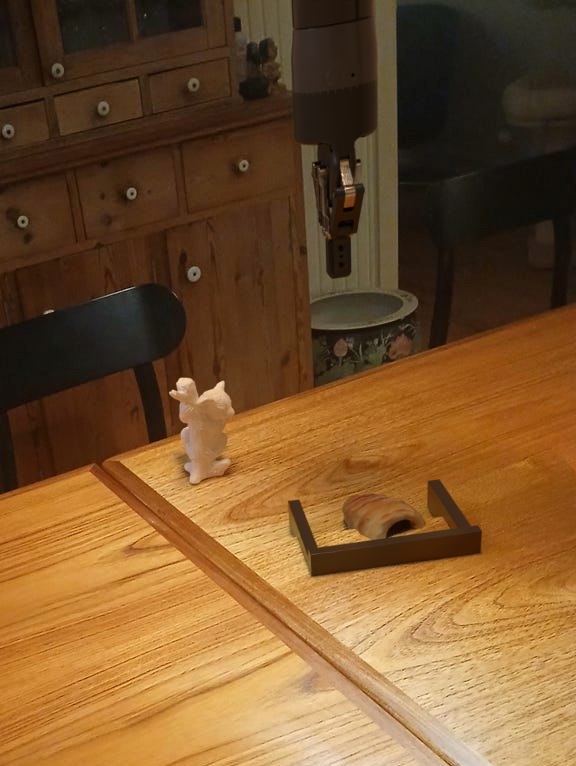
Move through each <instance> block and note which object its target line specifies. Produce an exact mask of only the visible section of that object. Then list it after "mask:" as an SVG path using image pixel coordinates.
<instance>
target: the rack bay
mask: <svg viewBox="0 0 576 766" xmlns="http://www.w3.org/2000/svg"><path fill="white" fill-rule="evenodd" d="M426 507H427V509H428V511H429V512H430V513H431V515H432V517H433V518H434V519H436V518H441V517H442V518H443V519H444V521H445V523H446V524H447V526H448V527H449V528H447V529H440V530H433V531H425V532H418V533H412V534H405V535H397V536H390V537H388V538H382V539H375V540H371V539H367V540H361V541H355V542H348V543H339V544H334V545H333V544H332V545H326V546H318V544H317V541H316V539H315V536H314V534H313V531H312V529H311V526H310V523H309V520H308V519H307V518H308V517H307V516H306V513H305V511H304V507H303V506H302V503H301V500H300V499H292V500H288V501H287V510H288V527H289V529H290V532H291V534H292V537H293V538H297V540H298V544H299V546H300V548H301V549H300V550H301V551H302V555H303V557H304V560H305V562H306V566H307V568H308V571H309V574H310V577H319V576H327V575H333V574H334V575H335V574H341V573H347V572H348V573H349V572H355V571H356V572H357V571H363V570H368V569H377V568H384V567H391V566H398V565H407V564H414V563H420V562H421V563H422V562H428V561H435V560H443V559H448V558H450V559H451V558H456V557H463V556H464V557H465V556H471V555H478V554H481V552H482V551H481V549H482V538H483V537H482V536H483V530H482V529H481V528H480V526H479V525H478V524H475V525H472V524H471V523H470V522H469V521H468V519H467V517H466V516H465V514H464V513H463V512H462V510H461V508H460V507H459V506H458V504H457V502H456V501H455V500H454V499H453V497H452V496H451V494H450V492H449V491H448V490H447V488H446V487H445V485H444V483H443V482H442V481H441V479H440V478H435V479H429V480H427V495H426Z"/></svg>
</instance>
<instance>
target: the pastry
mask: <svg viewBox="0 0 576 766" xmlns="http://www.w3.org/2000/svg"><path fill="white" fill-rule="evenodd" d="M341 512H342V514H343V521H345V523H346V526H347V528H348V531H349V530H350V531H351V530H356V531H357V532H358V533H359V534H360V535H361V536H363V537H364V538H367V539H368V540H375V539H382V538H389V537H393V536H394V535H397V534H399V533H401V532H403V531H404V530H405V529H407V528H408V527H409V528H411V529H422V528H424V527H425V526H426V525H427V524H426V523H427V522H426V520H424V517H423V515H422V514H421V513H419V511H418V510H417V509H416V508H414V507H413V506H412V505H410V504H409V503H407V502H406V500H404V499H403V498H400V497H399V498H398V497H396V498H395V497H394V498H393V497H390V496H387V495H386V494H382V493H379V494H378V493H366V494H363V493H362V494H355V495H352V496H350V497H348V498H347V499H346V500H345V502H344V503H343V505H342V508H341Z"/></svg>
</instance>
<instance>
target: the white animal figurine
mask: <svg viewBox="0 0 576 766" xmlns="http://www.w3.org/2000/svg"><path fill="white" fill-rule="evenodd" d="M225 385H226V383H225V380H222V381H219V382H217V384H216V385H215V386H214V387H213V388H212V389H209V390H208V389H207V390H206V391H204V392H203V393H202V394H201V395H199V393H198V389H197V386H196V381H195V380H193V379H192V378H190V377H180V378H178V381H176V384H175V386H176V389H177V390H174V389H171V391H169V392H168V394H169V396H170V397H172V398H173V399H174V400H177V401H179V402H180V403H179V414H178V416H179V417H178V418H179V420H180V421H181V423H183V424H187V426H186V427H184V428H183V429H182V430H181V431H180V439H181V442H182V445H183V449H184V451H185V452H186V454H187V457H188V458H189V459H190V461H187V462H185V464H184V465H183V467H184V471H186V472H187V473H189V484H191V485H197V484H200V482H201V481H202V480H205V479H207V478H208V479H209V478H214V477H221V476H223V475H224V474H225V473H226V470H227V469H228V468H229V467H230V466H231V464H232V462H231V460H230V458H229V457H227V458H223V459H221V460H218V459H217V458H218V457H219V456H220V455H221V454H222V453H223V452H224V450H225V449H226V447H227V444H228V440H229V437H228V435H227V433H225V432H224V430H225V429H226V420H231V419H232V418H233V417H234V416H235V414H236V412H235V410H234V408H233V407H232V400H231V397H230V395H229V394H228V393H227V392H226V391H225V387H226V386H225Z"/></svg>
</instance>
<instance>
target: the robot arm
mask: <svg viewBox="0 0 576 766" xmlns="http://www.w3.org/2000/svg"><path fill="white" fill-rule="evenodd" d="M290 2H291V20H292V22H291V23H292V37H291V39H292V40H291V53H290V69H291V72H290V73H291V92H292V112H293V113H292V114H293V115H292V116H293V137H294V140H295V142H296V143H297V144H299V145H302V146H312V147H313V146H317V151H316V159H317V160H312V162H311V173H310V174H311V178H312V182H313V183H312V184H313V189H314V195H315V197H314V198H315V206H316V210H317V216H318V217H317V222H318V223H319V226H320V227H321V233H322V235H323V237H324V241H325V242H324V243H325V270H326V271H325V273H326V274H327V275H328V277H329V278H330V279H331V280H336V279H341V278H347V277H350V275H351V274H352V237H354V235H355V234H358V230H359V224H360V219H361V212H362V207H363V202H364V196H365V192H366V189H365V186H364V183H363V182H360V181H361V179H362V174H363V173H362V169H363V168H362V167H363V165H362V159H361V158H357V154H356V147H355V145H356V142H357V140H359V139H360V138H366V137H368V136H371V135H373V134H374V133H375V132H376V130H377V128H378V125H379V124H378V122H379V121H378V120H379V119H378V114H379V113H378V37H377V29H376V23H375V15H374V14H375V0H291V1H290Z"/></svg>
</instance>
